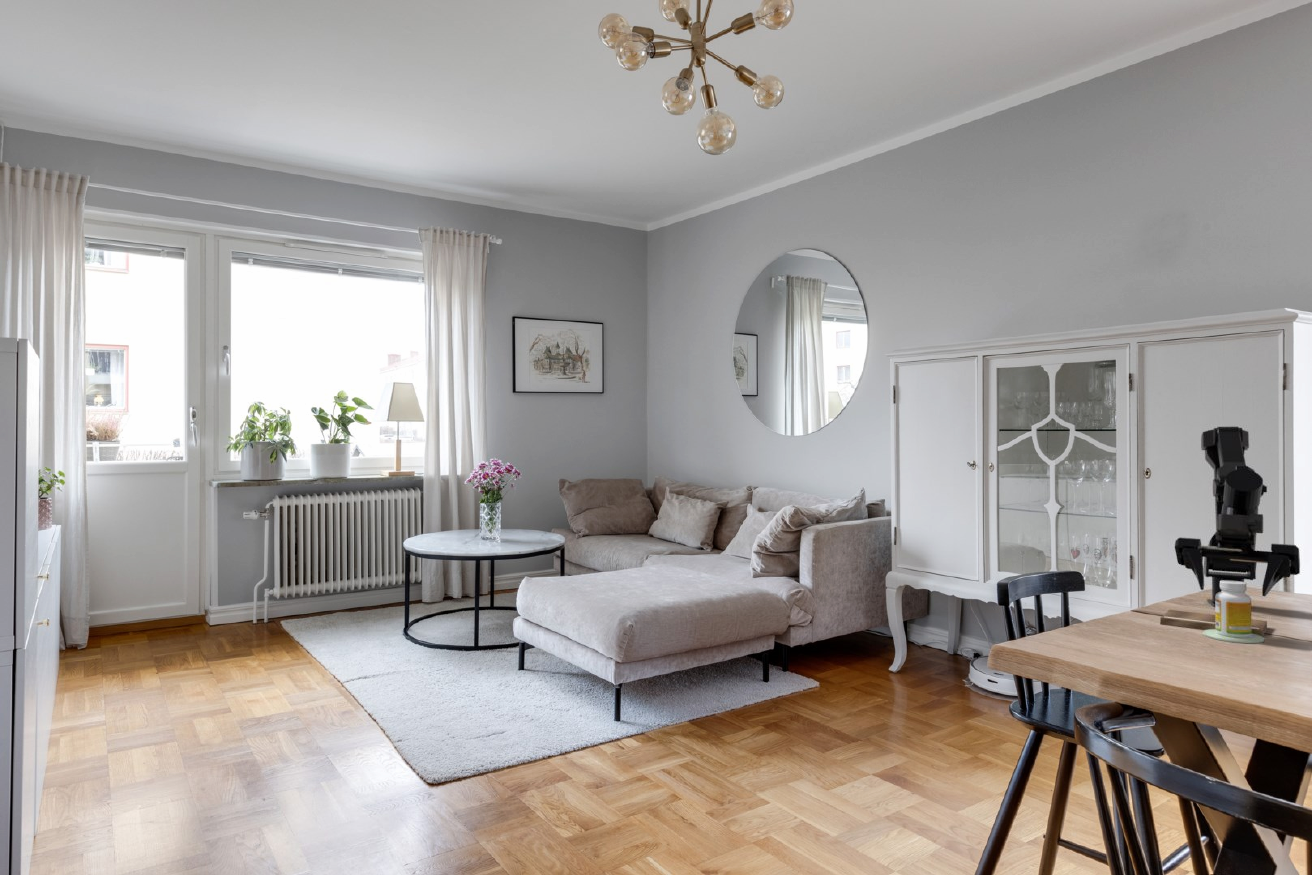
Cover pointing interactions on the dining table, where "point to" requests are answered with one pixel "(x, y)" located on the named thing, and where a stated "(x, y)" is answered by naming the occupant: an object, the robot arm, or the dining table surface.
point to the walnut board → (1203, 621)
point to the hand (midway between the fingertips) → (1232, 591)
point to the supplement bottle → (1233, 610)
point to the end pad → (1251, 639)
